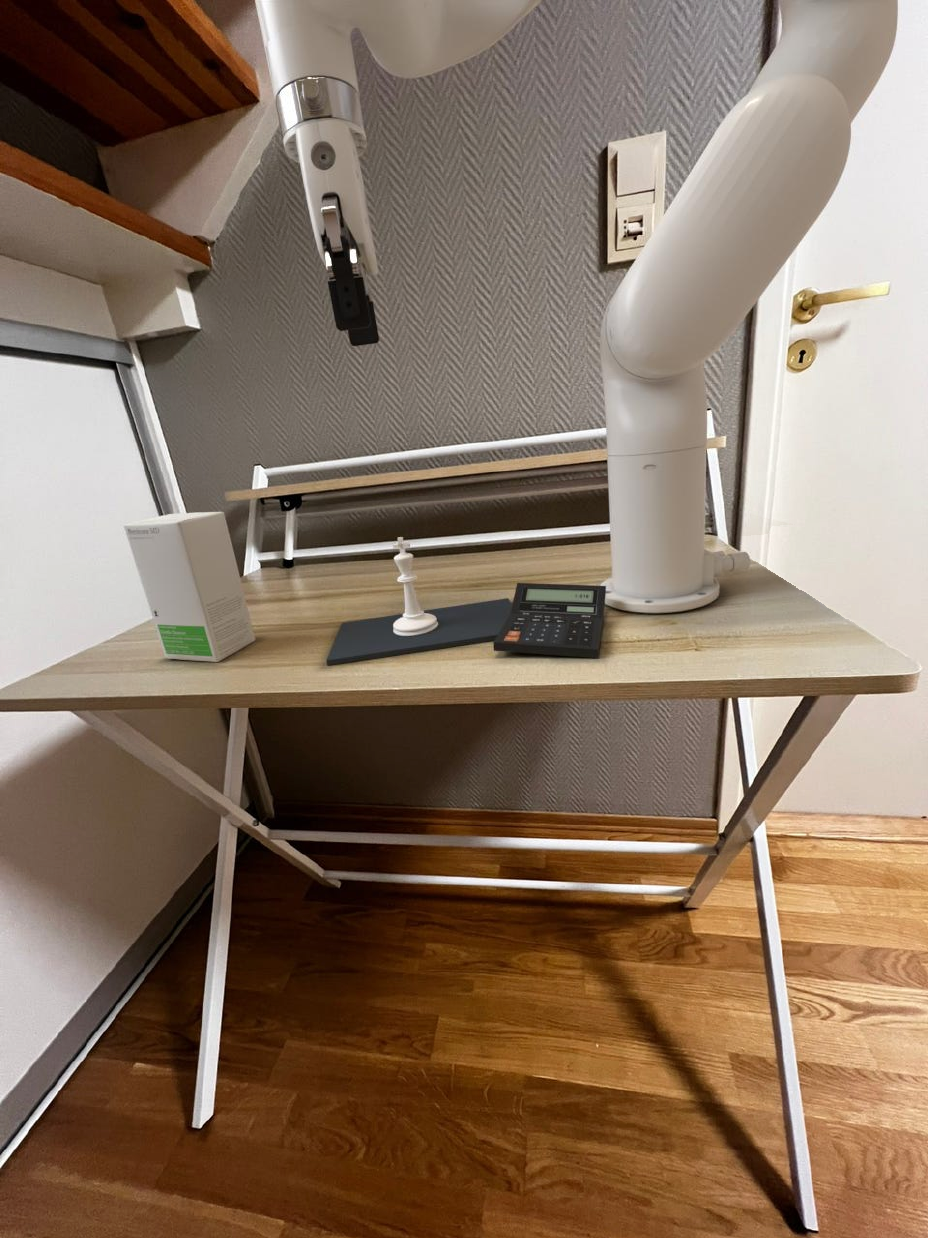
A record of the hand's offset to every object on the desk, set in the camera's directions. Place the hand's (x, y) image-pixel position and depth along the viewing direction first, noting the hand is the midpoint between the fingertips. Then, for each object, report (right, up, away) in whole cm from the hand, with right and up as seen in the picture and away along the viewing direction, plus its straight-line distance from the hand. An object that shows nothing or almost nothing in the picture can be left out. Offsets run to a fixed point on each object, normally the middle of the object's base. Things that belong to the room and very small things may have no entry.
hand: (360, 337), depth 55 cm
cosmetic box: (-19, -32, +8) cm, 38 cm away
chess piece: (+5, -30, +4) cm, 31 cm away
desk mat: (+6, -30, +4) cm, 31 cm away
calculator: (+19, -30, -1) cm, 36 cm away
